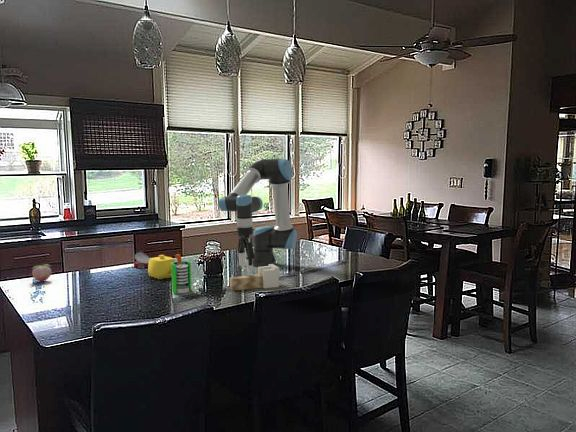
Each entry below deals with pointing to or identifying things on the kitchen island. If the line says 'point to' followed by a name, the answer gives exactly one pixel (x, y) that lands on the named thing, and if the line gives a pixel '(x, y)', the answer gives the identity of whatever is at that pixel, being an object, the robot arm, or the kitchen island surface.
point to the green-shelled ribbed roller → (181, 275)
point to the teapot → (160, 267)
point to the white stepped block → (269, 275)
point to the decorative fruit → (41, 272)
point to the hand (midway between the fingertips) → (246, 268)
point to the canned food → (141, 260)
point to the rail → (246, 282)
